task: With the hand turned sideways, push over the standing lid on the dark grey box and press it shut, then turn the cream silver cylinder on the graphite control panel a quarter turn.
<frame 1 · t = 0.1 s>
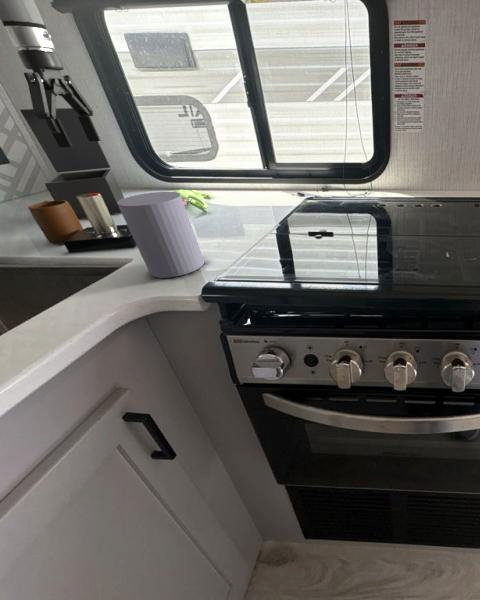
hand: (81, 144, 93), 21 cm above the countertop, tool pointing down, fingers open, 13 cm apart
figurine: (181, 209, 110), on the countertop
mug: (67, 238, 88), on the countertop
container: (178, 268, 72), on the countertop
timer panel: (112, 242, 85), on the countertop
dark grey box: (98, 210, 109), on the countertop
cream silver cylinder: (97, 213, 80), point 8 cm above the countertop, hinge at 0.0°
fryer lid: (69, 140, 104), point 20 cm above the countertop, hinge at 80.0°
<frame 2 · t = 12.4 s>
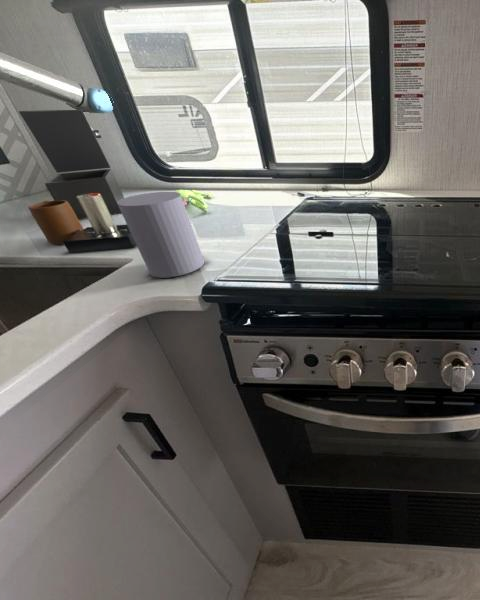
hand: (68, 139, 103), 21 cm above the countertop, tool horizontal, fingers closed
fryer lid: (68, 141, 103), point 20 cm above the countertop, hinge at 74.2°, touching gripper
everything else where it was.
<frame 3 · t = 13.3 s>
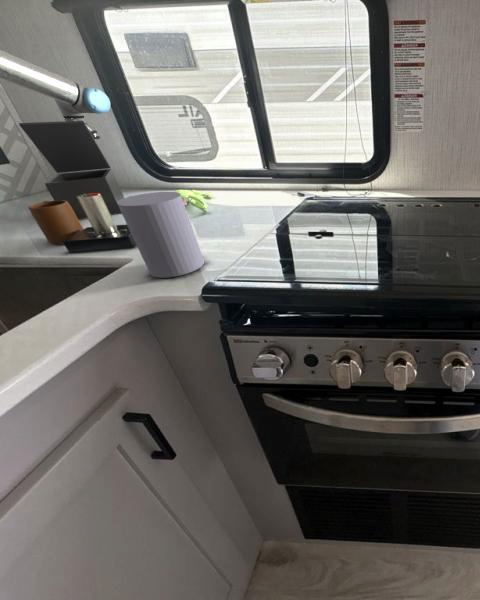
hand: (65, 139, 101), 21 cm above the countertop, tool horizontal, fingers closed
fryer lid: (69, 148, 102), point 19 cm above the countertop, hinge at 53.2°, touching gripper
everything else where it was.
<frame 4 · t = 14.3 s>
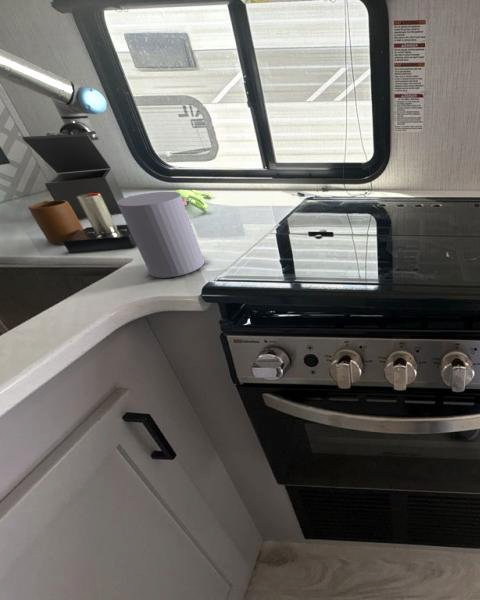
hand: (63, 141, 98), 21 cm above the countertop, tool horizontal, fingers closed
fryer lid: (71, 154, 101), point 17 cm above the countertop, hinge at 38.2°, touching gripper
everything else where it was.
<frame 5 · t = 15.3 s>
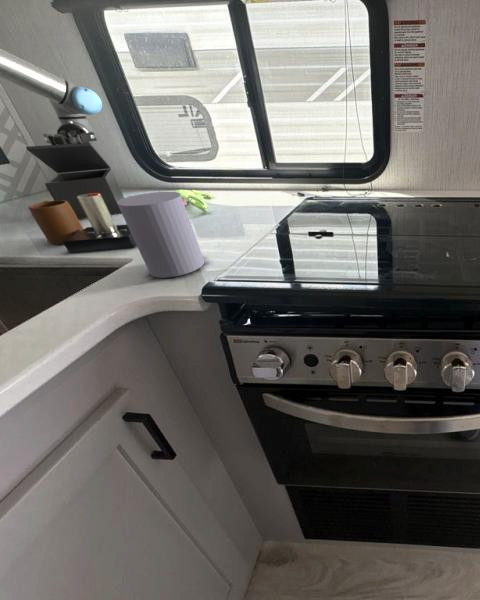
hand: (60, 142, 95), 21 cm above the countertop, tool horizontal, fingers closed
fryer lid: (72, 158, 102), point 16 cm above the countertop, hinge at 29.2°, touching gripper
everything else where it was.
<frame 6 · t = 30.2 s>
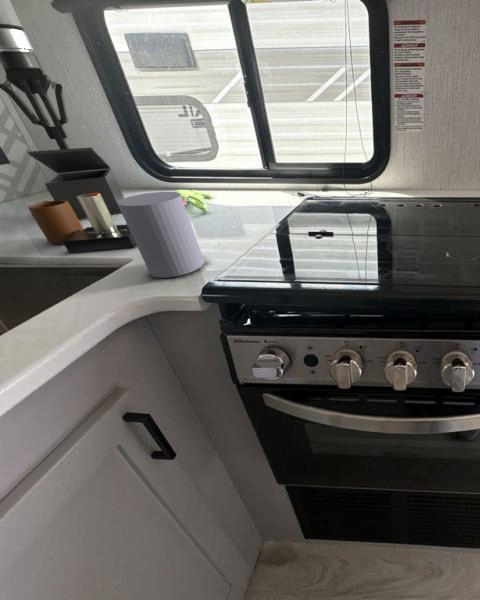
hand: (65, 151, 97), 18 cm above the countertop, tool pointing down, fingers closed
fryer lid: (73, 161, 102), point 15 cm above the countertop, hinge at 24.8°, touching gripper
everything else where it was.
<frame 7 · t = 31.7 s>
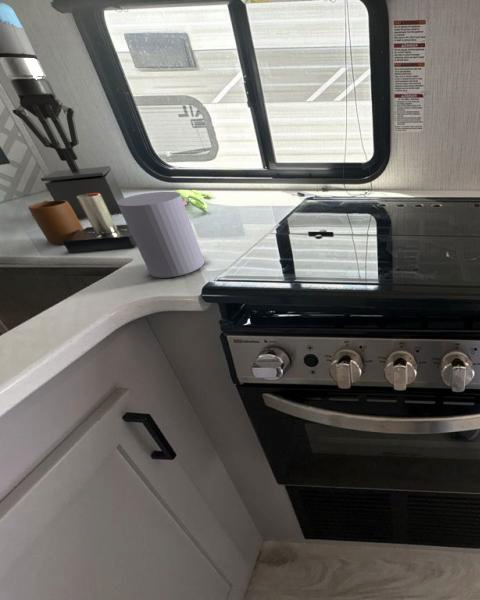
hand: (76, 171, 100), 13 cm above the countertop, tool pointing down, fingers closed
fryer lid: (79, 173, 103), point 12 cm above the countertop, hinge at 2.2°, touching gripper
everything else where it was.
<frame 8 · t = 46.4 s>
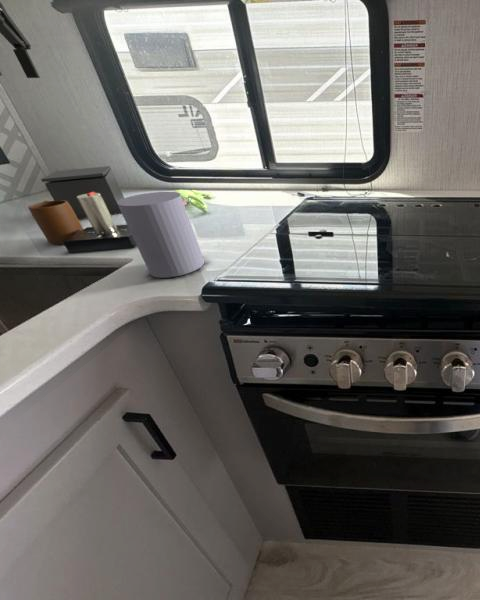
hand: (15, 77, 89), 37 cm above the countertop, tool pointing down, fingers open, 13 cm apart
cream silver cylinder: (97, 213, 80), point 8 cm above the countertop, hinge at 89.6°
fryer lid: (79, 173, 103), point 12 cm above the countertop, hinge at 1.7°
everything else where it was.
at the end: fryer lid at +2° (first picture: +80°); cream silver cylinder at +90° (first picture: +0°) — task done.
